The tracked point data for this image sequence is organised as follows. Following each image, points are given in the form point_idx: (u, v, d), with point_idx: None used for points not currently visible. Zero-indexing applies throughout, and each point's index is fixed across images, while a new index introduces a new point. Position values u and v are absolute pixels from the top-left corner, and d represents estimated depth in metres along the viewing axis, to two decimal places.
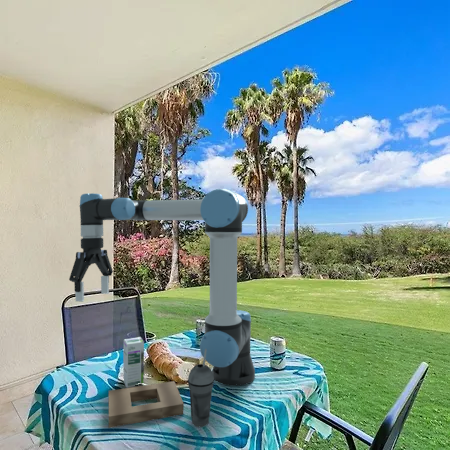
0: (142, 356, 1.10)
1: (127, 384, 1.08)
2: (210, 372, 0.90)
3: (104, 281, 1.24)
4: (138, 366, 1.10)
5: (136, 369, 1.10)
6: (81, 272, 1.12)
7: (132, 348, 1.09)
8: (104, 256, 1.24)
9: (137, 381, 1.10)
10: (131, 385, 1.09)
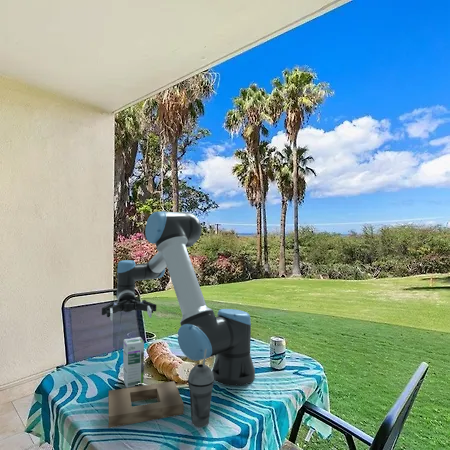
0: (142, 356, 1.10)
1: (127, 384, 1.08)
2: (210, 372, 0.90)
3: (147, 310, 1.27)
4: (138, 366, 1.10)
5: (136, 369, 1.10)
6: None
7: (132, 348, 1.09)
8: (143, 302, 1.35)
9: (137, 381, 1.10)
10: (131, 385, 1.09)
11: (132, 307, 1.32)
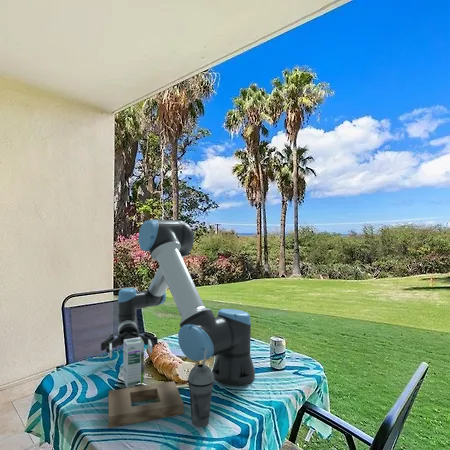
0: (142, 356, 1.10)
1: (127, 384, 1.08)
2: (210, 372, 0.90)
3: (148, 344, 1.23)
4: (138, 366, 1.10)
5: (136, 369, 1.10)
6: None
7: (132, 348, 1.09)
8: (144, 334, 1.31)
9: (137, 381, 1.10)
10: (131, 385, 1.09)
11: None
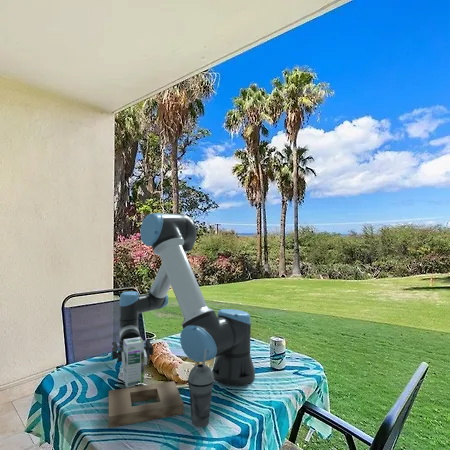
0: (142, 356, 1.10)
1: (127, 384, 1.08)
2: (210, 372, 0.90)
3: None
4: (138, 366, 1.10)
5: (136, 369, 1.10)
6: None
7: (132, 348, 1.09)
8: (146, 342, 1.23)
9: (137, 381, 1.10)
10: (131, 385, 1.09)
11: None
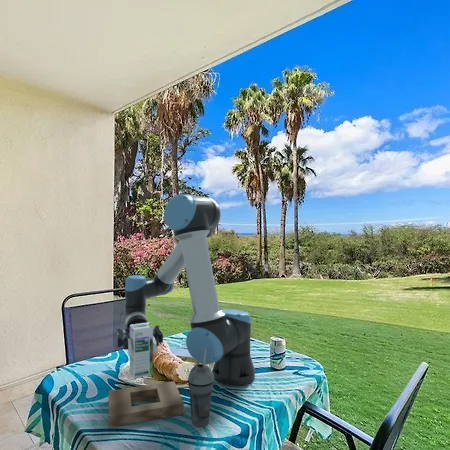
0: (151, 343, 0.98)
1: (134, 374, 0.96)
2: (210, 372, 0.90)
3: None
4: (146, 354, 0.98)
5: (144, 358, 0.97)
6: None
7: (140, 334, 0.97)
8: (154, 329, 1.10)
9: (146, 371, 0.97)
10: (139, 375, 0.97)
11: None
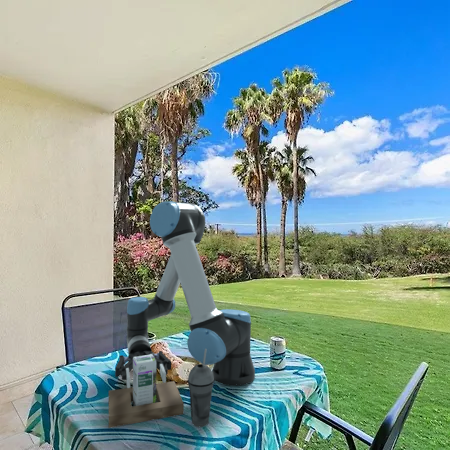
0: (154, 377, 0.96)
1: None
2: (210, 372, 0.90)
3: (160, 370, 0.99)
4: (150, 389, 0.95)
5: (148, 393, 0.95)
6: None
7: (143, 368, 0.95)
8: (159, 355, 1.09)
9: None
10: None
11: None
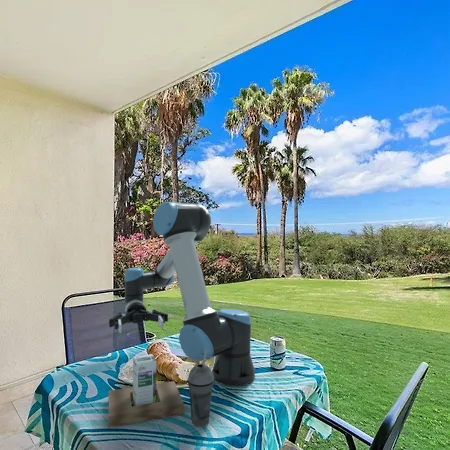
0: (154, 377, 0.96)
1: None
2: (210, 372, 0.90)
3: (159, 320, 1.17)
4: (150, 389, 0.95)
5: (148, 393, 0.95)
6: None
7: (143, 368, 0.94)
8: (153, 312, 1.26)
9: None
10: None
11: (142, 318, 1.22)
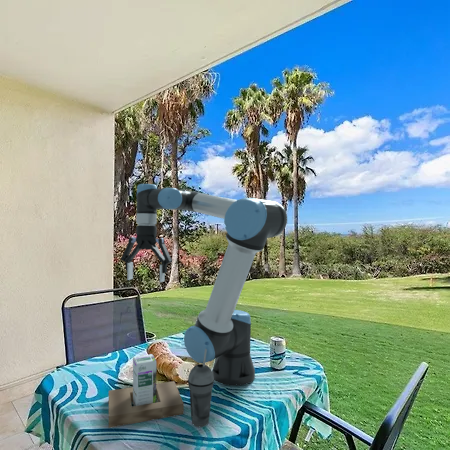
0: (154, 377, 0.96)
1: None
2: (210, 372, 0.90)
3: None
4: (150, 389, 0.95)
5: (148, 393, 0.95)
6: None
7: (143, 368, 0.94)
8: None
9: None
10: None
11: None
